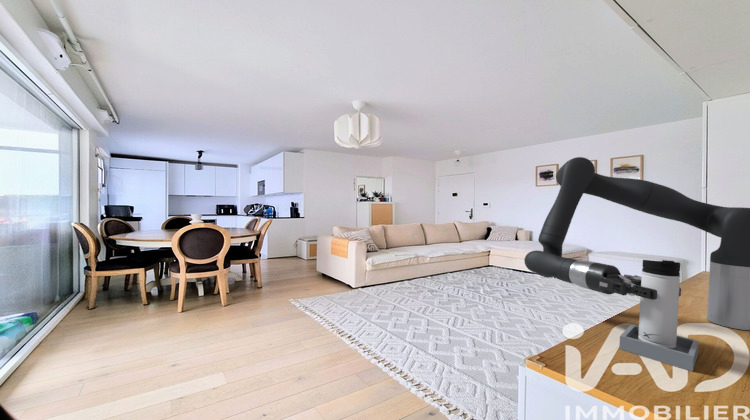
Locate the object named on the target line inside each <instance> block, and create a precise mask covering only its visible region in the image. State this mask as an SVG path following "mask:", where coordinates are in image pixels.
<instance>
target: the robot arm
mask: <svg viewBox="0 0 750 420" xmlns="http://www.w3.org/2000/svg"><path fill="white" fill-rule="evenodd" d="M555 180H556V182H557V184H558V185H559V186H560V189H559V191H558V194H557V196H556V199H555V201H554V202H553V204H552V207H551V208H550V210H549V212H548V214H547V215H546V217H545V219H544V222H543V225H542V227H541V230H540V233H539V236H538V242H539V244H541V247H543V248H542V249H543V251H542V250H532V251H529V252H527V254H526V255H525V257H524V259H523V260H524V265H525V267H526V268H527V269H528V270H529V271H530V272H532V273H535V274H537V275H539V276H541V277H543V278H549V279H550V278H555V279H557V280H559V281H562V282H565V283H569V284H573V285H575V286H577V287H581V288H583V289H587V290H590V291H594V292H599V293H601V294H606V295H609V296H610V295H613V294H618V295H620V296H627V295H629V296H630V297H631V296H634V297H635V296H637V297H644V298H648V299H652V300H655V299H657V290H655V289H651V288H647V287H643V286H641V278H642V276H639V275H636V274H635V275H632V274H627V273H626V274H625V273H624V275H622V274H621V271H620V269H619V268H618V267H616V266H614V265H611V264H606V263H601V262H595V261H589V260H582V259H576V258H571V257H563V244H564V243H565V239H566V237H567V235H568V233H569V228H570V225H571V224H572V223H571V222H572V220H573V218H574V215H575V213H576V210H577V208H578V205H579V204H580V201H581V199H582V197H583V195H584V194H585V195H589V196H594V197H597V198H600V199H603V200H606V201H609V202H612V203H615V204H618V205H622V206H624V207H627V208H629V209H632V210H635V211H638V212H640V213H641V212H642V213H645V214H648V215H652V216H655V217H659V218H663V219H668V220H671V221H676V222H680V223H684V224H685V225H686V224H687V225H688V226H691V227H694V228H696V229H699V230H701V231H703V232H706V233H708V234H711V235H713V236H715V237H718V238H720V244H719V246H718V248H717V249H716V250H713V251H711V253H710V255H709V257H710V258H709V275H708V276H709V277H708V290H707V291H708V292H707V293H708V294H707V306H706V307H707V309H706V320H707V321H709V322H710V323H713V324H716V325H719V326H723V327H726V328H732V329H735V330H741V331H742V330H743V331H750V207H737V206H736V207H735V206H733V207H727V206H722V205H721V206H720V205H716V204H715V205H714V204H710V203H707V202H702V201H700V200H699V201H698V200H695V199H692V198H690V197H689V196H686V195H685V194H683V193H681V192H680V191H678V190H676V189H674V188H671V187H668V186H666V185H663V184H659V183H656V182H653V181H649V180H644V179H638V178H629V177H628V178H627V177H614V176H613V177H612V176H608V175H603V174H601V173H597V172H596V169H595V164H594V163H593V161H591V160H590V159H589V158H587V157H583V156H578V157H573V158H571V159H569V160H567V161H566V162H565V163H564V164H563V165H562V166H561V167H560V168H559V169H558V170H557V171H556V175H555ZM681 294H682V288H681V287H680V286H679V297H681V296H682V295H681Z"/></svg>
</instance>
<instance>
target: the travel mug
mask: <svg viewBox="0 0 750 420" xmlns="http://www.w3.org/2000/svg"><path fill="white" fill-rule="evenodd" d="M641 265H642V268H641V269H642V270H641V277H642V278H641V286H643V287H647V288H651V289H655V290H657V299H655V300H652V299H648V298H644V297H640V296H639V297H640V301H639V318H638V320H639V321H638V326H639V336H638V340H641V341H644V342H648V343H651V344H655V345H658V346H662V347H665V348H669V349H673V350H676V339H677V336H678V320H679V319H678V317H679V316H678V315H679V305H680V304H679V300H680V296H679V287H680V285H681V284H680V282H681V279H680V278H681V274H680V272H681V262H678V261H677V262H676V261H674V260H668V259H667V260H666V259H665V260H664V259H662V260H652V259H651V260H650V259H642V264H641Z"/></svg>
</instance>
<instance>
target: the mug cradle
mask: <svg viewBox="0 0 750 420" xmlns="http://www.w3.org/2000/svg"><path fill="white" fill-rule="evenodd" d="M638 336H639V325H637V324H632V323H631V324H630V325H629V326H628V327H627V328H626V329H625V330H624V331H623V332H622V333H621V335H620V336H619V350H621V351H624V352H628V353H631V354H635V355H637V356H641V357H644V358H648V359H651V360H654V361H657V362H660V363H664V364H667V365H670V366H674V367H677V368H679V369H682V370H686V371H689V372H692V373H693V372H694V369H695V366H696V362H697V359H698V355H699V340H696V339H692V338H688V337H685V336H681V335H677V339H676V350H673V349H669V348H665V347H662V346H658V345H655V344H651V343H648V342H644V341H641V340H638Z"/></svg>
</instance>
